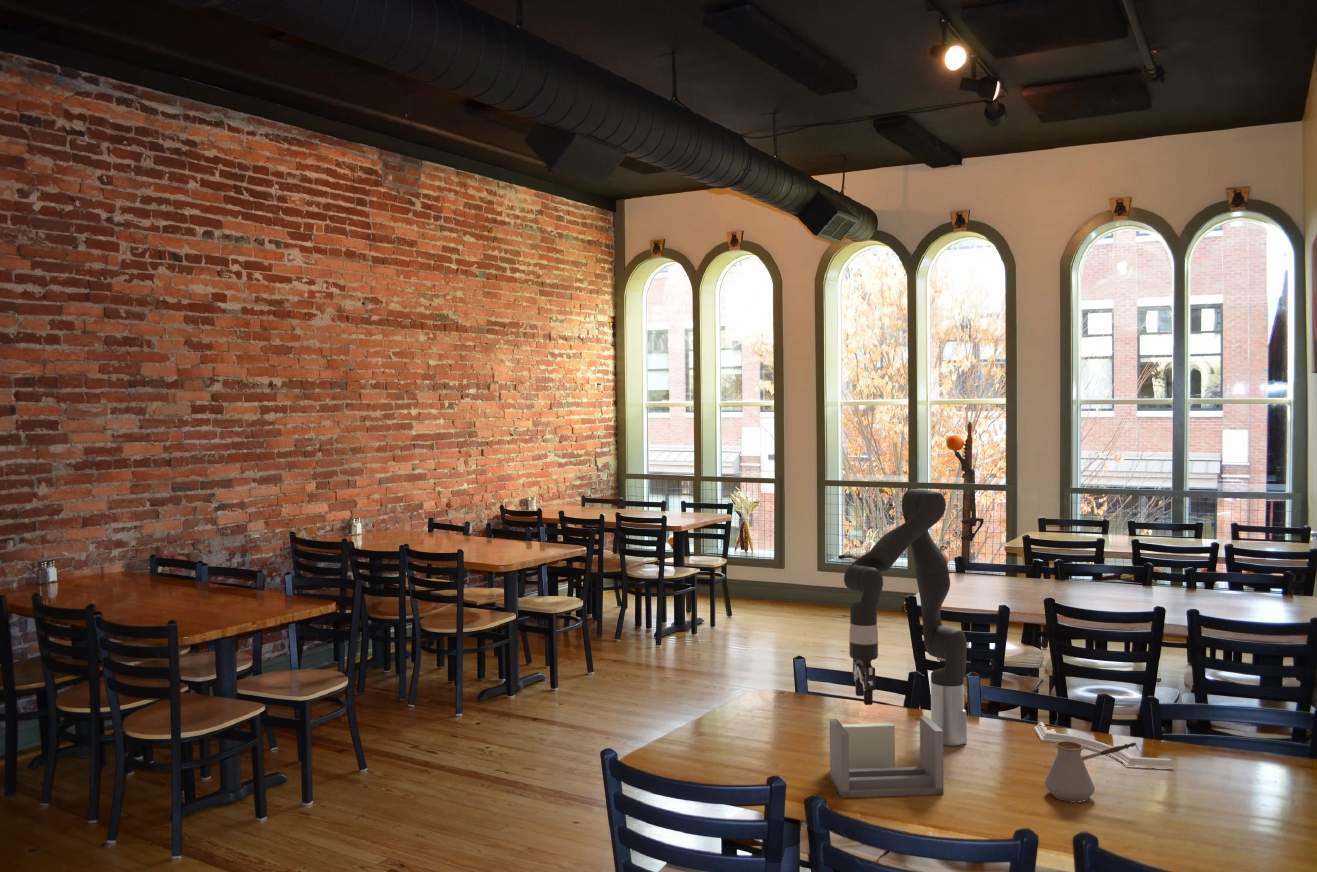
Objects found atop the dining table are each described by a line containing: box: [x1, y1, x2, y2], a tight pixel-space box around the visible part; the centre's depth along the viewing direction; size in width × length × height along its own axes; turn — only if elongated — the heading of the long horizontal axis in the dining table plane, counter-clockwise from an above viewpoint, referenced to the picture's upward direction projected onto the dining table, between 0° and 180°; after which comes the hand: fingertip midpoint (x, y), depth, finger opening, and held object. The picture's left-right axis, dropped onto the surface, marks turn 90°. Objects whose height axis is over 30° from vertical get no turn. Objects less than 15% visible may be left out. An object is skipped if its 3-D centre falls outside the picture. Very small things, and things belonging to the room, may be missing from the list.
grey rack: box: [829, 716, 945, 799], centre depth 250 cm, size 26×12×16 cm, turn 93°
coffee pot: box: [1044, 741, 1140, 803], centre depth 240 cm, size 21×12×15 cm, turn 70°
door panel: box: [841, 722, 896, 769], centre depth 262 cm, size 16×3×12 cm, turn 93°
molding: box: [1033, 721, 1174, 769], centre depth 275 cm, size 42×12×3 cm, turn 33°
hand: (863, 699), depth 262 cm, fingers open, 8 cm apart
